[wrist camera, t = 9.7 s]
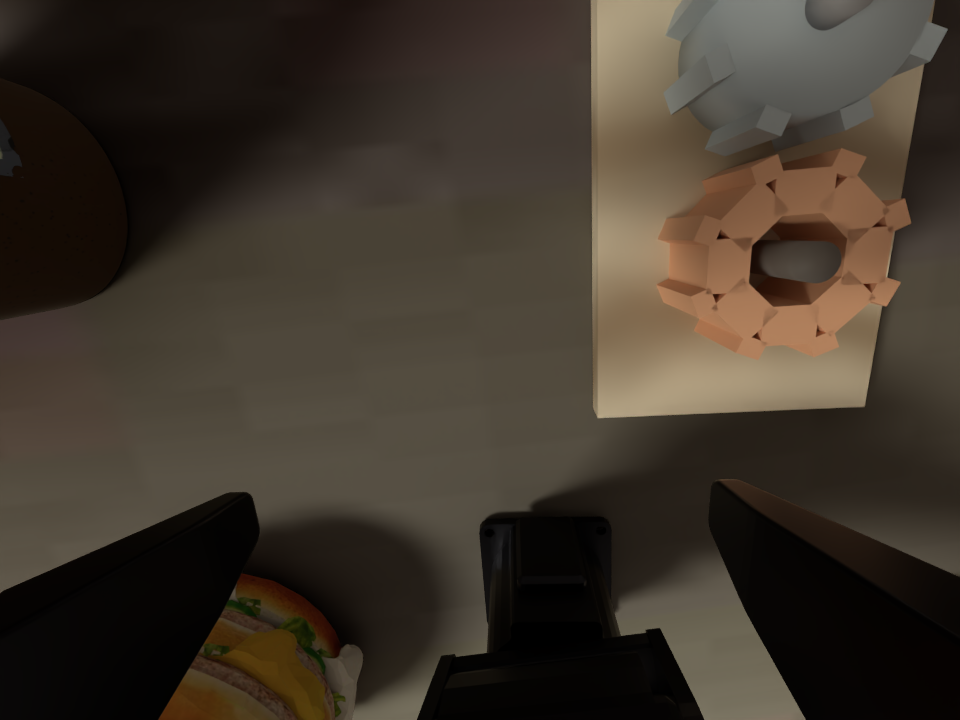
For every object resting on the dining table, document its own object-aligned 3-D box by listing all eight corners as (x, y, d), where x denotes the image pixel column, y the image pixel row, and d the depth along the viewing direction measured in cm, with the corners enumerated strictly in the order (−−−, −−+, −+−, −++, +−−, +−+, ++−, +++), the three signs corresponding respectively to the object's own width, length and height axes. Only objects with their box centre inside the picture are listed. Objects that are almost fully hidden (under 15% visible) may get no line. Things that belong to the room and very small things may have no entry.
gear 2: (816, 330, 18) (888, 352, 14) (654, 340, 18) (687, 364, 15) (838, 159, 16) (926, 140, 13) (659, 176, 17) (697, 161, 13)
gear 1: (841, 146, 16) (965, 113, 12) (661, 161, 16) (714, 136, 12) (871, -70, 14) (1029, -202, 10) (667, -44, 15) (734, -160, 10)
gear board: (843, 396, 20) (972, 459, 14) (592, 407, 21) (623, 471, 15) (936, -185, 14) (1203, -446, 9) (590, -135, 15) (636, -343, 10)
